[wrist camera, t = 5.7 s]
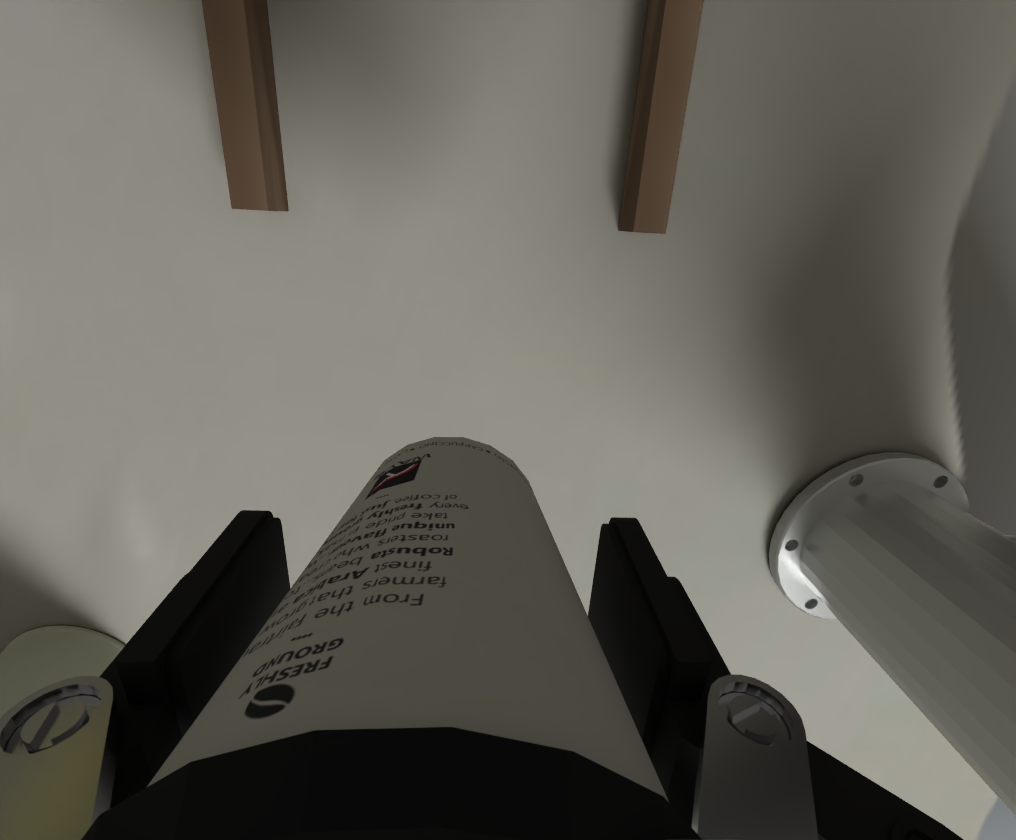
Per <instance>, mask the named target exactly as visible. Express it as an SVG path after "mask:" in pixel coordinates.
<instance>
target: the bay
mask: <svg viewBox="0 0 1016 840" xmlns="http://www.w3.org/2000/svg"><path fill="white" fill-rule="evenodd" d="M703 2H704V0H648V7H647V15H646V23H645V30H644V38H643V46H642V53H641V61H640V69H639V76H638V84H637V92H636V99H635V107H634V115H633V123H632V130H631V138H630V146H629V153H628V161H627V169H626V176H625V184H624V192H623V200H622V207H621V215H620V223H619V230H618V231H629V232H643V233H661V234H665V233H666V227H667V221H668V215H669V209H670V203H671V197H672V191H673V185H674V179H675V172H676V166H677V160H678V154H679V148H680V142H681V136H682V130H683V124H684V118H685V111H686V105H687V99H688V93H689V87H690V81H691V75H692V69H693V63H694V56H695V50H696V44H697V38H698V32H699V26H700V20H701V14H702V8H703ZM202 4H203V11H204V18H205V25H206V32H207V39H208V46H209V53H210V60H211V67H212V74H213V81H214V88H215V95H216V102H217V109H218V116H219V123H220V130H221V137H222V144H223V151H224V158H225V165H226V172H227V179H228V186H229V193H230V200H231V207H232V209H249V210H266V211H288V202H287V192H286V182H285V173H284V163H283V153H282V144H281V134H280V125H279V115H278V105H277V96H276V86H275V76H274V67H273V57H272V47H271V38H270V28H269V19H268V9H267V0H202Z"/></svg>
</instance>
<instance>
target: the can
mask: <svg viewBox="0 0 1016 840" xmlns="http://www.w3.org/2000/svg"><path fill="white" fill-rule="evenodd" d="M124 647H125V645H124V644H122V643H121V642H119V641H117V640H115V639H114V638H112V637H110V636H108V635H105V634H103V633H100V632H97V631H94V630H90V629H86V628H82V627H76V626H65V625H57V626H45V627H40V628H36V629H33V630H30V631H27V632H25V633H23V634H21V635H19V636H18V637H16V638H15V639H13V640H12V641H11V642H10V643H9V644H8V645H7V646H6V647H5V649H4V650H3V652H2V653H1V654H0V718H1V717H2V716H3V715H4V714H5V713H6V712H7V711H8V710H9V709H11V708H12V707H13V706H15V705H16V704H17V703H19V702H20V701H21V700H23V699H24V698H25V697H27V696H29V695H31V694H33V693H34V692H36V691H38V690H40V689H42V688H43V687H46V686H48V685H51V684H53V683H56V682H59V681H61V680H64V679H69V678H74V677H78V676H97V677H99V676H100V675H101V674H102V673H103V672H104V671H105V669H106V668H107V667H108V666H109V665H110V663H111V662H112V661H113V660H114V659H115V657H116V656H117V655H118V654H119V653H120V651H121V650H122V649H123V648H124Z"/></svg>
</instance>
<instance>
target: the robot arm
mask: <svg viewBox="0 0 1016 840" xmlns="http://www.w3.org/2000/svg"><path fill="white" fill-rule="evenodd" d="M769 563H770V571H771V573H772V576H773V579H774V582H775V583H776V584H777V586H778V587H779V589H780V590H781V592H782V593H783V594H784V595H785V596H786V597H787V598H788V600H789V601H790V602H791V603H792V604H793V605H794V606H796V607H797V608H799V609H800V610H801V611H803V612H805V613H808V614H811V615H813V616H816V617H819V618H825V619H831V620H839V621H840V622H841V623H842V624H843V626H844V627H845V628H846V629H847V630H848V631H849V632H850V633H851V634H852V636H853V637H854V638H855V639H856V640H857V641H858V642H859V643H860V644H861V645H862V647H863V648H864V649H865V650H866V651H867V652H868V653H869V654H870V655H871V657H872V658H873V659H874V660H875V661H876V662H877V663H878V664H879V665H880V667H881V668H882V669H883V670H884V671H885V672H886V673H887V674H888V675H889V676H890V678H891V679H892V680H893V681H894V682H895V683H896V684H897V685H898V686H899V688H900V689H901V690H902V691H903V692H904V693H905V694H906V695H907V696H908V698H909V699H910V700H911V701H912V702H913V703H914V704H915V705H916V706H917V707H918V709H919V710H920V711H921V712H922V713H923V714H924V715H925V716H926V717H927V719H928V720H929V721H930V722H931V723H932V724H933V725H934V726H935V727H936V728H937V730H938V731H939V732H940V733H941V734H942V735H943V736H944V737H945V738H946V740H947V741H948V742H949V743H950V744H951V745H952V746H953V747H954V748H955V750H956V751H957V752H958V753H959V754H960V755H961V756H962V757H963V758H964V759H965V761H966V762H967V763H968V764H969V765H970V766H971V767H972V768H973V769H974V771H975V772H976V773H977V774H978V775H979V776H980V777H981V778H982V779H983V781H984V782H985V783H986V784H987V785H988V786H989V787H990V788H991V789H992V790H993V792H994V793H995V794H996V795H997V796H998V797H999V798H1000V799H1001V800H1002V802H1004V804H1005V805H1006V806H1007V807H1008V808H1009V809H1010V810H1011V812H1012V813H1013V814H1014V815H1015V816H1016V536H1011V535H1009V536H1008V535H1007V536H1006V535H1004V534H1002V533H1000V532H999V531H997V530H996V529H994V528H992V527H990V526H989V525H987V524H985V523H984V522H982V521H980V520H979V519H977V518H975V517H974V516H972V515H971V514H970V510H969V503H968V497H967V495H966V492H965V490H964V488H963V486H962V484H961V483H960V482H959V480H958V479H957V478H956V477H955V476H954V475H953V474H952V473H951V472H949V471H948V470H946V469H945V468H943V467H942V466H940V465H938V464H936V463H934V462H932V461H930V460H928V459H926V458H924V457H922V456H918V455H914V454H909V453H902V452H884V453H878V454H871V455H866V456H863V457H860V458H857V459H854V460H850V461H848V462H845V463H843V464H841V465H839V466H837V467H835V468H833V469H831V470H829V471H828V472H826V473H825V474H823V475H822V476H820V477H819V478H817V479H816V480H814V481H813V482H812V483H810V484H809V485H808V486H807V487H806V488H805V489H804V490H803V491H802V492H800V493H799V494H798V495H797V496H796V498H795V499H794V500H793V501H792V502H791V504H790V505H789V506H788V507H787V509H786V510H785V511H784V513H783V515H782V517H781V518H780V520H779V522H778V523H777V525H776V528H775V531H774V533H773V536H772V539H771V543H770V550H769ZM289 590H290V583H289V575H288V568H287V561H286V553H285V546H284V539H283V531H282V524H281V520H280V519H279V518H273V515H272V513H271V512H270V511H250V510H243V511H240V512H239V513H238V514H237V515H236V517H235V518H234V519H233V520H232V521H231V523H230V524H229V525H228V526H227V527H226V529H225V530H224V531H223V532H222V534H221V535H220V536H219V537H218V538H217V540H216V541H215V542H214V543H213V544H212V546H211V547H210V548H209V549H208V550H207V552H206V553H205V554H204V555H203V556H202V558H201V559H200V560H199V561H198V562H197V564H196V565H195V566H194V567H193V568H192V570H191V571H190V572H189V573H187V574H186V575H185V576H184V577H183V578H182V579H181V580H180V581H179V582H178V583H177V585H176V586H175V587H174V588H173V589H172V591H171V592H170V593H169V594H168V595H167V597H166V598H165V599H164V600H163V601H162V603H161V604H160V605H159V606H158V607H157V608H156V610H155V611H154V612H153V613H152V614H151V616H150V617H149V618H148V619H147V620H146V622H145V623H144V624H143V625H142V626H141V628H140V629H139V630H138V631H137V632H136V634H135V635H134V636H133V637H132V638H131V640H130V641H129V642H128V643H127V644H126V645H125V647H124V648H123V649H122V650H121V651H120V653H119V654H118V655H117V656H116V657H115V659H114V660H113V661H112V662H111V663H110V665H109V666H108V667H107V668H106V669H105V671H104V672H103V673H102V674H101V675H100V676H99V677H97V676H78V677H74V678H69V679H64V680H61V681H59V682H56V683H53V684H51V685H48V686H46V687H43V688H42V689H40V690H38V691H36V692H34V693H33V694H31V695H29V696H27V697H25V698H24V699H23V700H21V701H20V702H19V703H17V704H16V705H15V706H13V707H12V708H11V709H9V710H8V711H7V712H6V713H5V714H4V715H3V716H2V717H1V718H0V840H81V839H82V838H83V836H84V835H85V834H86V832H87V831H88V830H89V828H90V827H91V826H92V824H93V823H94V821H95V820H96V819H97V817H98V816H99V815H100V814H102V813H103V812H105V811H107V810H109V809H110V808H112V807H114V806H115V805H117V804H119V803H121V802H122V801H124V800H126V799H128V798H129V797H131V796H133V795H134V794H136V793H138V792H140V791H141V790H143V789H145V788H146V787H147V786H148V785H149V783H150V782H151V780H152V779H153V778H154V776H155V775H156V773H157V772H158V771H159V769H160V768H161V767H162V765H163V764H164V762H165V761H166V760H167V758H168V757H169V756H170V754H171V753H172V751H173V750H174V749H175V747H176V746H177V745H178V743H179V742H180V740H181V739H182V738H183V736H184V735H185V734H186V732H187V731H188V729H189V728H190V727H191V725H192V724H193V723H194V721H195V720H196V718H197V717H198V716H199V714H200V713H201V712H202V710H203V709H204V707H205V706H206V705H207V703H208V702H209V701H210V699H211V698H212V696H213V695H214V694H215V692H216V691H217V690H218V688H219V687H220V685H221V684H222V683H223V681H224V680H225V679H226V677H227V676H228V674H229V673H230V672H231V670H232V669H233V667H234V666H235V665H236V663H237V662H238V661H239V659H240V658H241V656H242V655H243V654H244V652H245V651H246V650H247V648H248V647H249V645H250V644H251V643H252V641H253V640H254V639H255V637H256V636H257V634H258V633H259V632H260V630H261V629H262V628H263V626H264V625H265V623H266V622H267V621H268V619H269V618H270V617H271V615H272V614H273V612H274V611H275V610H276V608H277V607H278V606H279V604H280V603H281V601H282V600H283V599H284V597H285V596H286V595H287V593H288V592H289ZM588 618H589V621H590V623H591V625H592V627H593V630H594V632H595V634H596V637H597V639H598V641H599V643H600V646H601V648H602V650H603V652H604V655H605V657H606V659H607V662H608V664H609V666H610V668H611V671H612V673H613V675H614V678H615V680H616V682H617V684H618V687H619V689H620V691H621V694H622V696H623V698H624V700H625V703H626V705H627V707H628V710H629V712H630V714H631V716H632V719H633V721H634V723H635V726H636V728H637V730H638V732H639V735H640V737H641V739H642V742H643V744H644V746H645V748H646V751H647V753H648V755H649V757H650V760H651V762H652V764H653V767H654V769H655V771H656V773H657V776H658V778H659V780H660V783H661V785H662V787H663V789H664V792H665V794H666V796H667V799H668V801H669V803H670V804H671V805H672V806H673V807H674V809H675V810H676V811H677V812H678V813H679V814H680V815H681V816H682V817H683V818H684V820H685V821H686V822H687V823H688V824H689V825H690V826H691V827H692V828H693V830H694V831H695V832H696V833H697V834H698V835H699V836H700V837H701V838H702V839H703V840H963V839H962V838H961V837H959V836H958V835H956V834H955V833H954V832H952V831H951V830H949V829H948V828H947V827H945V826H944V825H943V824H941V823H939V822H938V821H936V820H934V819H933V818H931V817H930V816H928V815H926V814H925V813H923V812H921V811H920V810H918V809H917V808H915V807H913V806H912V805H910V804H909V803H907V802H905V801H904V800H902V799H900V798H899V797H897V796H896V795H894V794H892V793H891V792H889V791H887V790H886V789H884V788H883V787H881V786H879V785H878V784H876V783H874V782H873V781H871V780H870V779H868V778H866V777H865V776H863V775H861V774H860V773H858V772H857V771H855V770H853V769H852V768H850V767H848V766H847V765H845V764H844V763H842V762H840V761H839V760H837V759H835V758H834V757H832V756H831V755H829V754H827V753H826V752H824V751H823V750H821V749H819V748H818V747H816V746H814V745H813V744H811V743H810V742H808V741H806V733H805V729H804V725H803V722H802V719H801V717H800V715H799V714H798V712H797V711H796V709H795V708H794V706H793V705H792V704H791V703H790V702H789V701H788V700H787V699H786V698H785V697H784V696H783V695H782V694H781V693H780V692H778V691H777V690H775V689H774V688H773V687H771V686H770V685H768V684H766V683H764V682H762V681H760V680H757V679H755V678H752V677H748V676H744V675H731V674H730V672H729V670H728V668H727V666H726V664H725V663H724V661H723V659H722V657H721V655H720V653H719V652H718V650H717V648H716V646H715V644H714V643H713V641H712V639H711V637H710V635H709V633H708V632H707V630H706V628H705V626H704V624H703V622H702V621H701V619H700V617H699V615H698V613H697V612H696V610H695V608H694V606H693V604H692V602H691V601H690V599H689V597H688V595H687V593H686V591H685V590H684V588H683V586H682V584H681V583H680V581H679V580H678V579H677V578H675V577H667V575H666V573H665V571H664V569H663V567H662V565H661V563H660V561H659V559H658V558H657V556H656V554H655V552H654V550H653V548H652V546H651V544H650V542H649V540H648V538H647V536H646V534H645V533H644V531H643V529H642V527H641V525H640V523H639V521H638V520H637V519H636V518H611V519H610V521H609V524H602V526H601V531H600V538H599V544H598V551H597V558H596V565H595V572H594V578H593V585H592V592H591V599H590V606H589V613H588ZM666 840H695V839H666Z"/></svg>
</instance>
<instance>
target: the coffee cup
mask: <svg viewBox="0 0 1016 840" xmlns="http://www.w3.org/2000/svg"><path fill="white" fill-rule="evenodd" d="M666 839H695V840H703V839H702V838H701V837H700V836H699V835H698V834H697V833H696V832H695V831H694V830H693V828H692V827H691V826H690V825H689V824H688V823H687V822H686V821H685V820H684V818H683V817H682V816H681V815H680V814H679V813H678V812H677V811H676V810H675V809H674V807H673V806H672V805H671V804H670V803H669V801H668V799H667V796H666V794H665V792H664V789H663V787H662V785H661V783H660V780H659V778H658V776H657V773H656V771H655V769H654V767H653V764H652V762H651V760H650V757H649V755H648V753H647V751H646V748H645V746H644V744H643V742H642V739H641V737H640V735H639V732H638V730H637V728H636V726H635V723H634V721H633V719H632V716H631V714H630V712H629V710H628V707H627V705H626V703H625V700H624V698H623V696H622V694H621V691H620V689H619V687H618V684H617V682H616V680H615V678H614V675H613V673H612V671H611V668H610V666H609V664H608V662H607V659H606V657H605V655H604V652H603V650H602V648H601V646H600V643H599V641H598V639H597V637H596V634H595V632H594V630H593V627H592V625H591V623H590V621H589V618H588V616H587V614H586V611H585V609H584V607H583V605H582V602H581V600H580V598H579V595H578V593H577V591H576V589H575V586H574V584H573V582H572V579H571V577H570V575H569V573H568V570H567V568H566V566H565V563H564V561H563V559H562V557H561V554H560V552H559V550H558V547H557V545H556V543H555V541H554V538H553V536H552V534H551V532H550V529H549V527H548V525H547V522H546V520H545V518H544V516H543V513H542V511H541V509H540V506H539V504H538V502H537V500H536V497H535V495H534V493H533V490H532V488H531V486H530V484H529V481H528V480H527V478H526V477H525V476H524V475H523V473H522V472H521V471H520V469H519V468H518V467H517V465H516V464H515V463H514V461H513V460H511V459H510V458H508V457H507V456H505V455H504V454H502V453H501V452H499V451H498V450H496V449H495V448H493V447H492V446H490V445H487V444H484V443H480V442H477V441H474V440H470V439H467V438H464V437H433V438H430V439H426V440H423V441H419V442H416V443H412V444H409V445H407V446H405V447H404V448H402V449H401V450H399V451H398V452H396V453H395V454H393V455H392V456H390V457H389V458H387V459H386V460H384V462H383V463H382V464H381V466H380V467H379V468H378V470H377V471H376V472H375V474H374V475H373V476H372V478H371V479H370V480H369V482H368V483H367V484H366V486H365V487H364V489H363V490H362V491H361V493H360V494H359V495H358V497H357V498H356V500H355V501H354V502H353V504H352V505H351V506H350V508H349V509H348V511H347V512H346V513H345V515H344V516H343V517H342V519H341V520H340V522H339V523H338V524H337V526H336V527H335V528H334V530H333V531H332V533H331V534H330V535H329V537H328V538H327V539H326V541H325V542H324V544H323V545H322V546H321V548H320V549H319V550H318V552H317V553H316V555H315V556H314V557H313V559H312V560H311V561H310V563H309V564H308V566H307V567H306V568H305V570H304V571H303V572H302V574H301V575H300V577H299V578H298V579H297V581H296V582H295V584H294V585H293V586H292V588H291V589H290V590H289V592H288V593H287V595H286V596H285V597H284V599H283V600H282V601H281V603H280V604H279V606H278V607H277V608H276V610H275V611H274V612H273V614H272V615H271V617H270V618H269V619H268V621H267V622H266V623H265V625H264V626H263V628H262V629H261V630H260V632H259V633H258V634H257V636H256V637H255V639H254V640H253V641H252V643H251V644H250V645H249V647H248V648H247V650H246V651H245V652H244V654H243V655H242V656H241V658H240V659H239V661H238V662H237V663H236V665H235V666H234V667H233V669H232V670H231V672H230V673H229V674H228V676H227V677H226V679H225V680H224V681H223V683H222V684H221V685H220V687H219V688H218V690H217V691H216V692H215V694H214V695H213V696H212V698H211V699H210V701H209V702H208V703H207V705H206V706H205V707H204V709H203V710H202V712H201V713H200V714H199V716H198V717H197V718H196V720H195V721H194V723H193V724H192V725H191V727H190V728H189V729H188V731H187V732H186V734H185V735H184V736H183V738H182V739H181V740H180V742H179V743H178V745H177V746H176V747H175V749H174V750H173V751H172V753H171V754H170V756H169V757H168V758H167V760H166V761H165V762H164V764H163V765H162V767H161V768H160V769H159V771H158V772H157V773H156V775H155V776H154V778H153V779H152V780H151V782H150V783H149V785H148V786H147V787H146V788H145V789H143V790H141V791H140V792H138V793H136V794H134V795H133V796H131V797H129V798H128V799H126V800H124V801H122V802H121V803H119V804H117V805H115V806H114V807H112V808H110V809H109V810H107V811H105V812H103V813H102V814H100V815H99V816H98V817H97V819H96V820H95V821H94V823H93V824H92V826H91V827H90V828H89V830H88V831H87V832H86V834H85V835H84V836H83V838H82V839H81V840H666Z"/></svg>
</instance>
